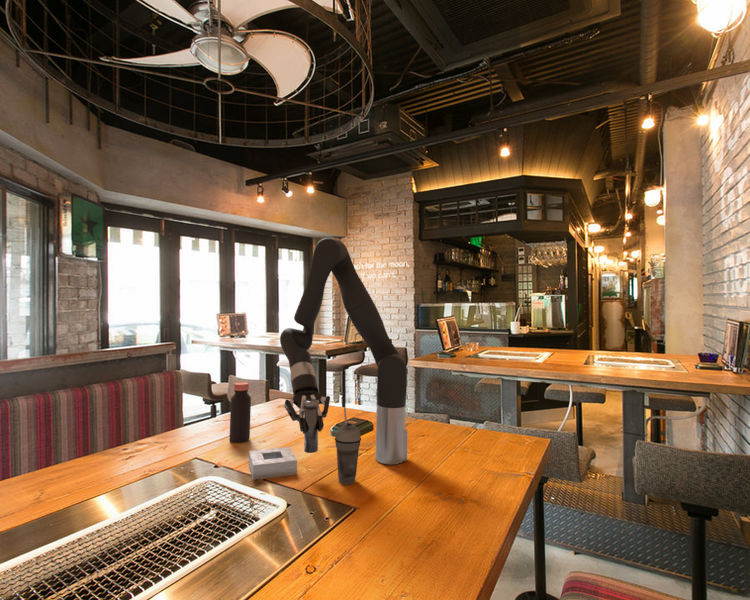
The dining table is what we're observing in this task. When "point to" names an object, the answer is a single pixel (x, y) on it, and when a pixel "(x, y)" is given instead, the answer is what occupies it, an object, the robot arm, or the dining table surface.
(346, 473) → the beverage cup
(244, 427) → the bottle
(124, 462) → the dining table surface
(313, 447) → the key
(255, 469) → the block
